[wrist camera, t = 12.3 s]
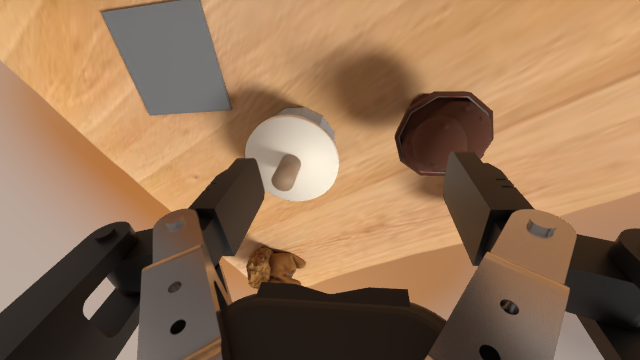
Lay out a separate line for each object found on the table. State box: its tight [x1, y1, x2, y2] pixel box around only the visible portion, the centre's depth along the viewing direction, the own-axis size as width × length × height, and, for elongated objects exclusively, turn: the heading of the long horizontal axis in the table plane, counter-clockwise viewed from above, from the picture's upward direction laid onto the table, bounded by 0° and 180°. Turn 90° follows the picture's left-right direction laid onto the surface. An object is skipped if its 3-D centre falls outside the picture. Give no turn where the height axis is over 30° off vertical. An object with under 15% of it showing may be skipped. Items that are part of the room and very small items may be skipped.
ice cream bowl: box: [395, 91, 493, 176], centre depth 32 cm, size 11×11×15 cm
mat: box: [101, 0, 232, 116], centre depth 39 cm, size 15×15×1 cm
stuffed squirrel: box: [246, 248, 306, 289], centre depth 56 cm, size 10×14×13 cm
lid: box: [245, 115, 339, 201], centre depth 37 cm, size 14×14×6 cm
